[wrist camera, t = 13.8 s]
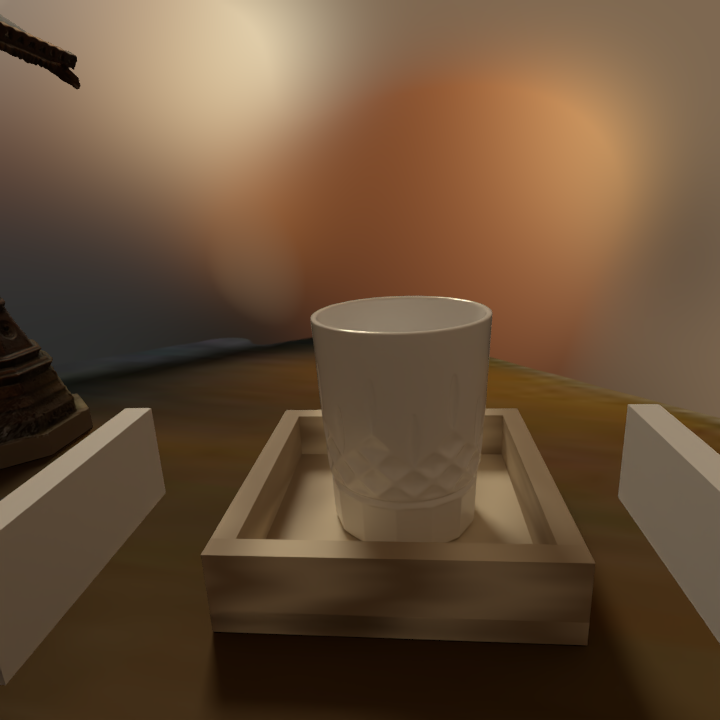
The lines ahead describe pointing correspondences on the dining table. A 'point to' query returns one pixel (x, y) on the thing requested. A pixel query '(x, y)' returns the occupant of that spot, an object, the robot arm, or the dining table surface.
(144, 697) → the dining table surface
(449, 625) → the birch crate
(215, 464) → the dining table surface
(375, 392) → the white cup
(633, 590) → the dining table surface
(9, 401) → the bird statue
